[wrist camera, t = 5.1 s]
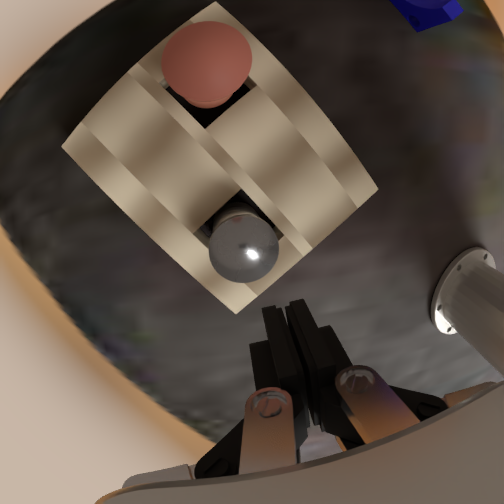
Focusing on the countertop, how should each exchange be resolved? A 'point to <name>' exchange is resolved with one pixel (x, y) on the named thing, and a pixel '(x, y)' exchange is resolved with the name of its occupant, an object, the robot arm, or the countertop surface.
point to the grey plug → (242, 244)
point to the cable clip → (427, 12)
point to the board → (221, 162)
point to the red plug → (206, 63)
